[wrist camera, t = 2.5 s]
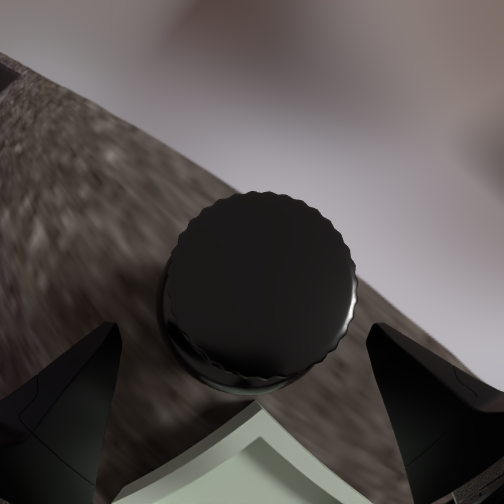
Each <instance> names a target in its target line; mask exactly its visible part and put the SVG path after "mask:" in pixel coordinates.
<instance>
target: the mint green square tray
mask: <svg viewBox="0 0 504 504" xmlns="http://www.w3.org/2000/svg"><path fill="white" fill-rule="evenodd" d="M111 504H373V503H371V502H370V501H369V500H368V499H366V498H365V497H364V496H362V495H361V494H360V493H359V492H357V491H356V490H355V489H353V488H352V487H351V486H350V485H348V484H347V483H346V482H344V481H343V480H342V479H341V478H339V477H338V476H337V475H336V474H335V473H333V472H332V471H331V470H330V469H328V468H327V467H326V466H325V465H324V464H323V463H321V462H320V461H319V460H318V459H317V458H316V457H314V456H313V455H312V454H311V453H310V452H309V451H308V450H307V449H305V448H304V447H303V446H302V445H301V444H300V443H299V442H298V441H297V440H296V439H295V438H294V437H292V436H291V435H290V434H289V433H288V432H287V431H286V430H285V429H284V428H283V427H282V426H281V425H280V424H279V423H278V422H277V421H276V420H275V419H274V418H273V417H272V416H271V415H270V414H269V413H268V412H267V411H266V410H265V409H264V408H263V407H262V406H261V405H260V404H259V403H258V402H257V401H256V400H255V401H253V402H252V403H251V404H250V405H248V406H247V407H246V408H245V409H243V410H242V411H241V412H239V413H238V414H237V415H236V416H234V417H233V418H232V419H230V420H229V421H228V422H226V423H225V424H224V425H222V426H221V427H220V428H218V429H217V430H215V431H214V432H213V433H211V434H210V435H208V436H207V437H206V438H204V439H203V440H201V441H200V442H198V443H197V444H195V445H194V446H192V447H191V448H189V449H188V450H186V451H185V452H183V453H182V454H180V455H179V456H177V457H175V458H174V459H172V460H171V461H169V462H167V463H166V464H164V465H162V466H161V467H159V468H157V469H155V470H154V471H152V472H150V473H149V474H147V475H145V476H143V477H141V478H139V479H138V480H136V481H134V482H132V483H130V484H128V485H126V486H124V487H123V488H122V490H121V491H120V492H119V494H118V495H117V496H116V498H115V499H114V501H113V502H112V503H111Z"/></svg>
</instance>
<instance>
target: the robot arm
mask: <svg viewBox="0 0 504 504" xmlns="http://www.w3.org/2000/svg"><path fill="white" fill-rule="evenodd" d="M366 347H367V350H368V354H369V357H370V361H371V365H372V369H373V373H374V376H375V379H376V382H377V385H378V388H379V391H380V393H381V396H382V399H383V402H384V404H385V407H386V410H387V413H388V416H389V419H390V422H391V425H392V428H393V431H394V434H395V437H396V440H397V443H398V446H399V450H400V453H401V456H402V460H403V463H404V466H405V470H406V474H407V478H408V481H409V485H410V489H411V493H412V497H413V501H414V504H431V503H433V502H435V501H437V500H439V499H441V498H442V497H444V496H446V495H448V494H450V493H451V494H452V496H453V498H452V499H451V500H449V501H448V502H446V503H445V504H504V392H502V391H500V390H497V389H495V388H494V387H492V386H490V385H488V384H486V383H484V382H482V381H480V380H478V379H476V378H474V377H473V376H471V375H469V374H467V373H465V372H464V371H462V370H460V369H459V368H457V367H456V366H454V365H452V364H451V363H449V362H448V361H446V360H444V359H443V358H441V357H439V356H438V355H436V354H435V353H433V352H431V351H430V350H428V349H426V348H425V347H423V346H422V345H420V344H418V343H417V342H415V341H413V340H412V339H410V338H408V337H407V336H405V335H404V334H402V333H400V332H399V331H397V330H395V329H394V328H392V327H390V326H389V325H387V324H386V323H383V322H381V323H374V324H373V325H372V327H371V330H370V332H369V334H368V337H367V339H366ZM121 350H122V339H121V335H120V332H119V328H118V325H117V323H115V322H104V323H103V324H101V325H100V326H99V327H97V328H96V329H95V330H93V331H92V332H91V333H89V334H88V335H87V336H85V337H84V338H83V339H81V340H80V341H79V342H78V343H76V344H75V345H74V346H72V347H71V348H70V349H68V350H67V351H66V352H65V353H63V354H62V355H61V356H59V357H58V358H57V359H56V360H54V361H53V362H52V363H51V364H49V365H48V366H47V367H45V368H44V369H43V370H42V371H40V372H39V373H38V375H35V376H34V377H33V378H32V379H30V380H29V381H28V382H27V383H25V384H24V385H23V386H21V387H20V388H19V389H17V390H16V391H14V392H13V393H12V394H10V395H9V396H7V397H6V398H4V399H3V400H1V401H0V504H93V502H94V493H95V485H96V478H97V471H98V465H99V459H100V453H101V448H102V443H103V438H104V433H105V428H106V424H107V419H108V415H109V411H110V406H111V402H112V398H113V394H114V391H115V386H116V381H117V375H118V369H119V362H120V356H121Z"/></svg>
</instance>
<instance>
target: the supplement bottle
mask: <svg viewBox="0 0 504 504" xmlns="http://www.w3.org/2000/svg"><path fill="white" fill-rule="evenodd" d="M355 267H356V265H355V263H354V261H353V260H352V259H351V254H350V249H349V247H348V246H347V245H346V244H345V243H344V241H343V238H342V235H341V234H340V233H339V232H338V231H337V230H336V229H334V227H333V225H332V223H331V221H330V220H328V219H326V218H324V217H323V216H322V215H321V213H320V212H319V211H318V210H317V209H315V208H312V207H309V206H308V205H307V204H306V203H305V202H304V201H302V200H296V199H293V198H291V197H290V196H288V195H283V194H281V195H277V194H275V193H273V192H270V191H269V192H263V193H259V192H256V191H250V192H248V193H246V194H234V195H232V196H230V197H229V198H226V199H219V200H217V201H216V202H215V203H214V204H213V206H209V207H206V208H203V210H202V211H201V213H200V214H199V216H197V217H196V218H193V219H192V220H190V222H189V224H188V227H187V229H186V230H185V231H183V232H182V233H181V234H180V235H179V238H178V245H177V246H176V247H175V248H174V249H173V251H172V252H171V256H170V258H169V259H168V261H167V263H166V265H165V267H164V269H163V271H162V274H161V277H160V280H159V284H158V288H157V294H156V315H157V322H158V326H159V330H160V333H161V336H162V338H163V341H164V343H165V345H166V347H167V349H168V350H169V352H170V353H171V355H172V357H173V358H174V359H175V360H176V362H177V363H178V364H179V365H180V366H181V367H182V368H183V369H184V370H185V371H186V372H187V373H188V374H189V375H191V376H192V377H193V378H195V379H196V380H198V381H199V382H201V383H203V384H205V385H207V386H209V387H211V388H213V389H216V390H219V391H222V392H226V393H230V394H236V395H258V394H265V393H269V392H273V391H276V390H279V389H282V388H284V387H286V386H288V385H290V384H292V383H294V382H295V381H297V380H298V379H300V378H301V377H302V376H304V375H305V374H306V373H307V372H308V371H309V370H310V369H312V368H313V366H314V365H315V364H317V363H320V362H322V361H323V360H324V359H325V357H326V356H327V354H328V353H330V352H332V351H334V350H335V349H336V348H337V346H338V343H339V341H340V339H342V338H343V337H344V336H345V335H346V334H347V331H348V325H349V323H350V322H351V321H352V320H353V318H354V307H355V305H356V303H357V301H358V297H357V292H356V290H357V287H358V280H357V277H356V275H355Z"/></svg>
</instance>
